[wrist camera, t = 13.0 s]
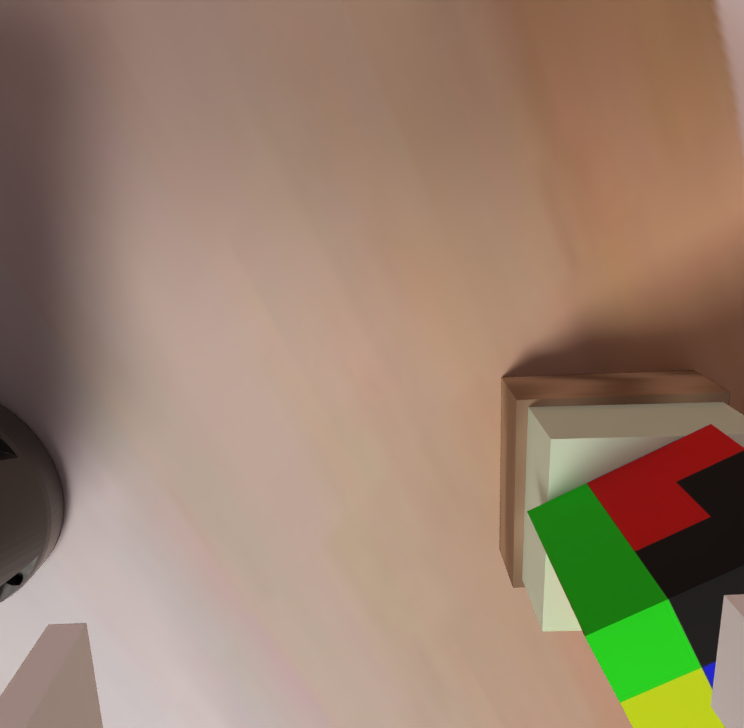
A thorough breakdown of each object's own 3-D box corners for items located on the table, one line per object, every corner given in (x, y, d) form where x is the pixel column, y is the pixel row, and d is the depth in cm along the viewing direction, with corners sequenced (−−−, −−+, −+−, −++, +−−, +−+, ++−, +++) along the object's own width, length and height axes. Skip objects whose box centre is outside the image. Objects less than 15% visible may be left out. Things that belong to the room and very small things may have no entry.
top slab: (522, 579, 42) (542, 631, 37) (528, 407, 39) (550, 439, 34) (703, 574, 42) (747, 626, 37) (722, 401, 39) (772, 433, 34)
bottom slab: (498, 545, 47) (513, 587, 42) (500, 375, 44) (516, 400, 39) (675, 538, 47) (710, 580, 42) (690, 368, 44) (729, 391, 39)
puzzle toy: (779, 582, 37) (926, 727, 27) (604, 658, 38) (684, 824, 28) (710, 423, 34) (844, 520, 25) (526, 511, 36) (584, 636, 26)
